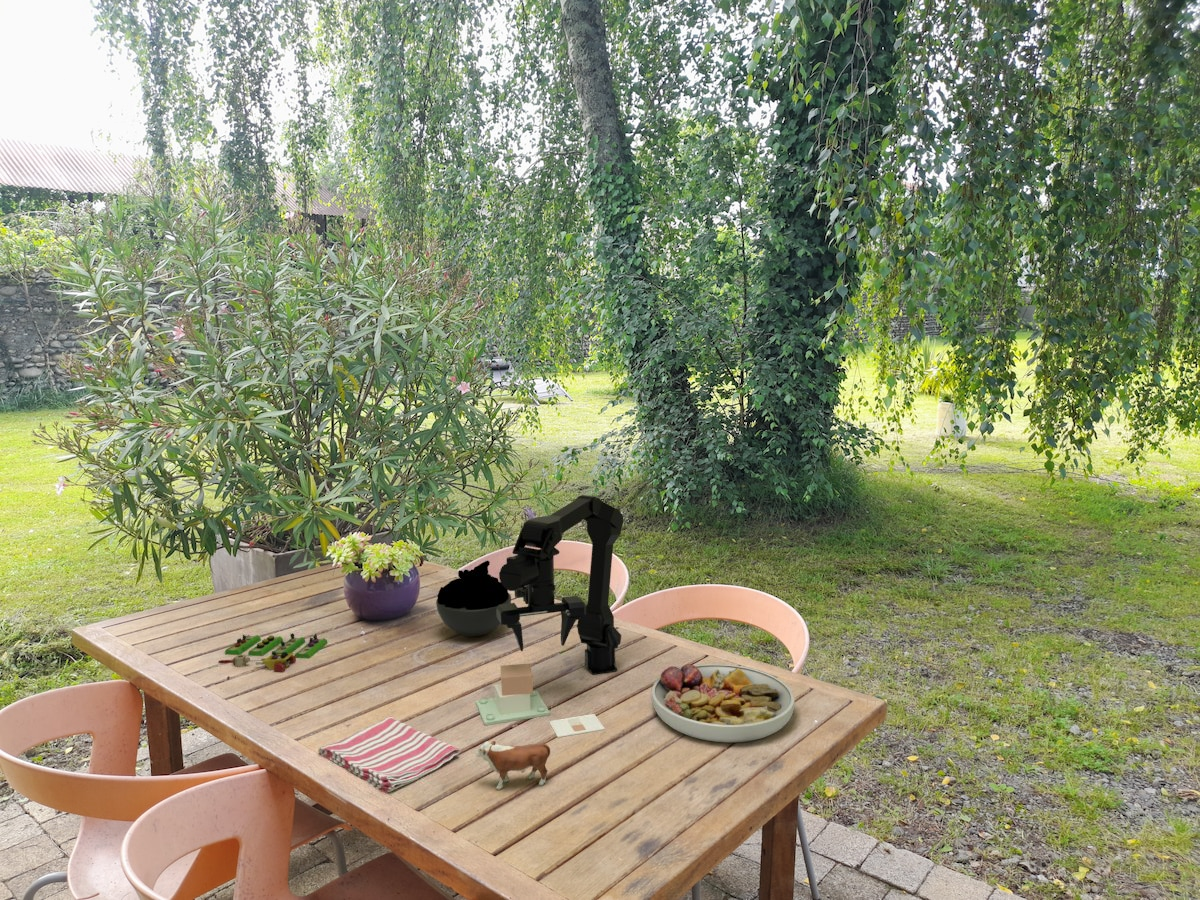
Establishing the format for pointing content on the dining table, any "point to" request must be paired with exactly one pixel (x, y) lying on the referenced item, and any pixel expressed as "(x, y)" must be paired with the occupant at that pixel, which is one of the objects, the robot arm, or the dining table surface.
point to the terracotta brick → (516, 679)
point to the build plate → (493, 716)
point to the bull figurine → (515, 759)
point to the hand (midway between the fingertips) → (542, 647)
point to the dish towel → (389, 754)
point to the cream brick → (510, 702)
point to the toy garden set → (279, 657)
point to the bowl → (722, 702)
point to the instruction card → (576, 725)
